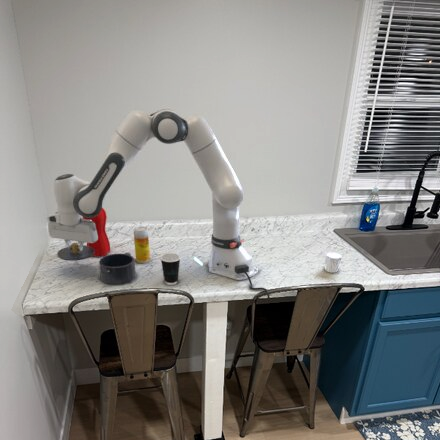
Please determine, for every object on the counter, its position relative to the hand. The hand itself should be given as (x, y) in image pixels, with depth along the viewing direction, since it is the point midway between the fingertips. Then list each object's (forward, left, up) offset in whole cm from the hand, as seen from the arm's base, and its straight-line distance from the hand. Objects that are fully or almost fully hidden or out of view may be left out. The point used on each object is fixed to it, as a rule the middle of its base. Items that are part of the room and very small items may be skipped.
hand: (75, 249), depth 164 cm
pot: (-16, -8, -9) cm, 21 cm away
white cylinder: (-76, -77, -10) cm, 109 cm away
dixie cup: (-35, -20, -10) cm, 41 cm away
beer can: (-11, -25, -10) cm, 29 cm away
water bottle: (+10, -17, -10) cm, 22 cm away
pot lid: (0, 0, -2) cm, 2 cm away
